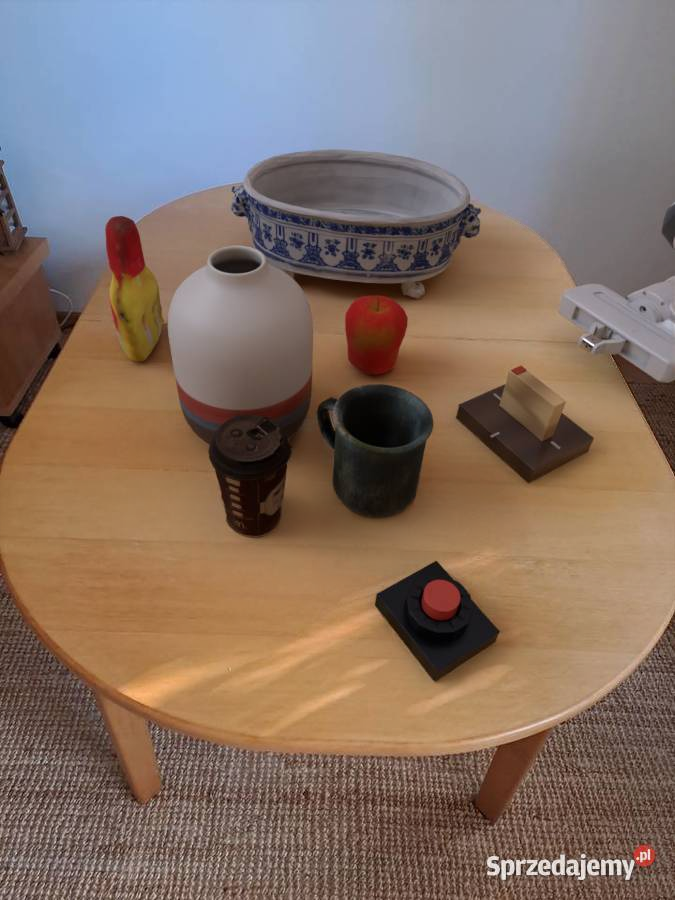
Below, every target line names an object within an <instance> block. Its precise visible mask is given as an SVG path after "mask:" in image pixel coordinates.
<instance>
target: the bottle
mask: <svg viewBox="0 0 675 900" xmlns="http://www.w3.org/2000/svg"><path fill="white" fill-rule="evenodd" d="M104 231H105V232H104V233H105V249H106V250H105V251H106V255H107V260H108V265H109V269H110V271H111V276H112V278H111V281H110V287H109V305H110V310H111V316H112V320H113V323H114V328H115V331H116V334H117V337H118V340H119V343H120V346H121V348H122V350H123V353H124V354H125V356H126V357H127V358H128V359H130V360H131V361H134V362H144V361H146V360H147V358H148V357H149V356H150V355H151V353H153V351H154V349H155V347H156V346H157V344H158V342H159V341H160V336H161V334H162V331H163V324H164V322H165V319H164V317H163V309H162V304H161V296H160V287H159V283H158V280H157V278H156V276H155V274H154V273H153V272H152V271H151V269H149V267H148V266H147V264H146V261H145V257H144V256H145V255H144V252H143V246H142V242H141V236H140V233H139V229H138V227H137V225H136V222H135V221H134V220H133V219H132V218H129V217H127V216H124V215H117V216H113V217H111V218H109V219H108V221H107V222H106V225H105V229H104Z"/></svg>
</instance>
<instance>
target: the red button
mask: <svg viewBox="0 0 675 900" xmlns="http://www.w3.org/2000/svg"><path fill="white" fill-rule="evenodd" d="M459 603H460V593H459V591H458V589H457V588H456V587H455V586H454V585H453V584H452V583H450V582H448V581H445V580H434V581H432V582H430V583H428V584H427V585H426V587H425V589H424V592H423V596H422V601H421V605H422V608H423V610H424V612H425V613H426V614H427V615H428V616H429V617H431V618H432V619H435V620H439V621H444V620H448V619H450V618H452V617H453V616H454V615H455V614H456V612H457V609H458V606H459Z"/></svg>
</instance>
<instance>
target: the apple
mask: <svg viewBox="0 0 675 900" xmlns="http://www.w3.org/2000/svg"><path fill="white" fill-rule="evenodd" d="M408 319H409V316H408V315H407V313H406V310H405V309H404V308H403V306H401V304H399V303H398V302H396V301H395V300H394V299H392V298H389V297H387V296H383V295H374V294H373V295H364V296H360V297H358V298H356V299H355V300H354V301H353V302H352V303H351V304H350V305H349V307H348V309H347V311H346V312H345V318H344V321H345V322H344V324H345V325H344V326H345V327H344V330H345V338H346V343H347V359H348V361H349V362H350V364H351V365H352V366H353V367H355V368H356V369H357V370H359V372H362V373H363V374H366V375H368V376H377V375H378V376H379V375H382V374H385V373H387V372H389V371H392V370H393V369H394V367H395V366H396V364H397V362H398V356H399V352H400V348H401V345H402V343H403V340H404V339H405V337H406V332H407V330H408V329H407V328H408Z"/></svg>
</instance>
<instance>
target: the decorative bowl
mask: <svg viewBox="0 0 675 900" xmlns="http://www.w3.org/2000/svg"><path fill="white" fill-rule="evenodd" d="M230 192H232V193H233V194H234V195H233V196H232V197H231V206H230V210H231V212H232V213H233V214H234V216H236V217H238V218H239V217H240V218H244V217H245V218H247V223H248V229H249V231H250V233H251V236H252V246H253V247H252V248H255V249H257V250H259V251H260V252H262V253H263V254H264V256H265V257H266V261H267V263H268V264H270V265H273V266H275V267H277V268H279V269H280V270H282V271H283V272H285V273H286V274H288V275H289V276H290V277H291V278H293V279H294V280H295V278H294V276H295V273H296V274H300V275H305V276H311V277H317V278H323V279H327V280H337V281H343V282H355V283H365V284H400V292H401V293H402V294H403V295H404V296H409V297H410V298H413V299H420V298H422V296H424V295H425V292H426V289H425V285H424V284H423V283H422V282H421V281H425V280H428V279H431V278H434V277H435V276H437V275H439V274H441V273H442V272H444V271H445V270H446V269H447V268H448V267H449V265H450V263H451V259H452V256H453V254H454V252H455V250H456V249H457V248H458V246H459V245H460V244H461V242H462V241H461V240H462V239H461V238H462V236H463V237H465V238H467V239H472V238H475V237H477V236H478V235H479V234H480V233H481V219H480V218H479V215H480V214H481V213H482V209H481V207H475V206H474V204H472V203H470V201H471V194H470V192H469V189H468V187H467V186H466V184H465V183H464V182H463V181H462V180H461V179H460V178H459V177H458V176H457V175H455V174H453V173H452V172H450V171H448V170H447V169H445V168H442V167H440V166H437V165H435V164H432V163H430V162H427V161H423V160H420V159H418V158H417V159H416V158H413V157H409V156H403V155H396V154H391V153H385V152H378V151H377V152H376V151H365V150H351V149H319V150H318V149H317V150H305V151H295V152H290V153H284V154H283V153H282V154H278V155H274V156H272V157H268V158H266V159H264V160H261V161H259V162H257V163H256V164H254V165H253V166H252V167H251V168H249V170H248V171H247V172H246V174H245V176H244V178H243V182H242V184H241V185H237V186H232V187H231V191H230Z"/></svg>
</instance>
